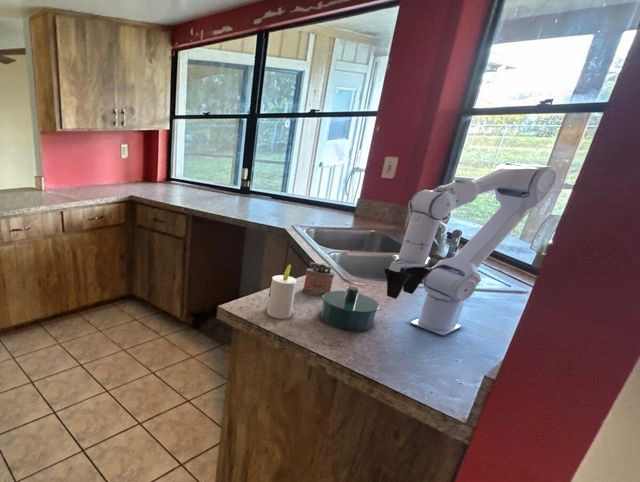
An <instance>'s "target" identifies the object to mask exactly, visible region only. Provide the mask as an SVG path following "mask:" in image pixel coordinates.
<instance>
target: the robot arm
mask: <svg viewBox="0 0 640 482" xmlns="http://www.w3.org/2000/svg"><path fill="white" fill-rule="evenodd" d="M557 178H558V171H557V169H556V168H555V166H553V165H546V166H545V165H536V164H523V163H515V162H509V161H508V162H505V163H503V164H499V165H497V166H496V168H495V169H494V170H492V171H490V172H488V173H485V174H483V175H481V176H479V177H477V178H475V179H469V178H465V177H464V178H463V177H458V178H455V179H454V181H452V182H451V183H447V184H444V185H439V186H437V187H436V188H434V189H433V190H430V189H423V190H420V191H418V192H416V193H415V194H414V195H413V196H412V198H411V200H409V201H408V205H407V207H408V211H409V214H408V216H407V217H408V221H409V222H408V225H407V228H406V231H405V234H404V237H403V241H402V244H401V247H400V249H399V254H394V255H393V256H392V259H394V260H393V261H391V262H390V265H389V266H385V267H384V270H383V272H384V274H385V278H386V297H389V298H392V299H395V300H396V299H398V298H399V296H400V294H401V292H402V291H403V292H404V293H407V294H410V295H413V294H414V293H415V292H416V290H417V288H419V286H420V284H421V282H422V285H423V287H424V288H425V289H424V292H426V294H425V298H424V299H423V300H424V301H423V304H422V307H421V310H420V313H419V317H418V318H417V319H416V318H415V319H414V320H412V321H410V324H411V325H414V326H415V327H416V326H417V327H419V328H421V329H424V330H427V331H430V332H432V333H435V334H437V335H440V336H446V335H448V334H449V333H452V332H454V331H456V330H458V329H460V328H461V325H460V324H458V322H459V319H460V316H461V313H462V310H463V307H464V302H465V300H468V299H469V298H470V297H471V296H472V295H473V294H474V293H475V290H476V288H477V286H478V284H480V282H481V281H482V278H481V274H480V273H479V270H478V268H479V267H480V266H481V265H482V264H483V263H484V262H485V261H486V260H487V258H488V257H489V256H490V255H491V254H492V253H493V252H494V251H495V250H496V249H497V248H498V247H499V245H500V244H502V243H503V241H505V239H506V238H507V237H508V236H509V235H510V234H511V233H512V232H513V231H514V229H516V228H517V226H519V224H520V223H521V222H522V221H523V220H524V219H525V217H526V216H527V215H528V214H529V213H531V211H532V210H533V208H536V207H538V206H539V204H541V202H542V201H543V200H544V199H545V198H546V197H547V196H548V195H549V194H550V193H551V192H552V190H553V189H554V188H556V184H557V180H558V179H557ZM491 191H494V195H495V200H497V202H498V203H500V206H499V207H498V209H496V211H495V212H494V213H493V214H492V215H491V216H490V217H489V218H488V219H487V220H486V222H485V223H484V224H483V225H482V226H481V227H480V228H479V230H477V232H475V234H474V235H473V236H472V237H471V238H470V239H469V240H468V241H467V242H466V243H465V245H464V246H463V247H462V248H461V249H460V250H459V251H458V252H457V254H456V255H455V256H453V257H448V258H444V259H441V260H439V261H438V262H437V263H436V264H435V265H434V266H432V267H430V266H429V264H430V261H431V257H430V256H429V255H430V251H431V249H432V246H433V243H434V240H435V237H436V235H437V232H438V229H439V226H440V223H441V221H442V219H445V218H446V217H447V216H448V215H449V214H450V213H451V212H452V211H453V210H455V209H457V208H459V207H462V206H465V205H467V204H469V203H473V202H474V201H475V200H476V199H477V198H478V195H480V194H485V193H488V192H491Z"/></svg>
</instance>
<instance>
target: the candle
mask: <svg viewBox="0 0 640 482" xmlns="http://www.w3.org/2000/svg"><path fill="white" fill-rule="evenodd" d="M291 267H292V265H291V263H290V264H288V265H287V267H286V268H285V271H284V273H283V274H277V275H274V276H272V277H271V284H270V287H269V292H268V305H267V310H266V313H267V315H269V316H270V317H271V318H275V319H281V320H285V319H289V318H290V317H291V315H292V310H293V304H294V300H295V299H294V298H295V293H296V287H297V282H298V280H297V279H296V278H295V277H293V276H290V272H291Z"/></svg>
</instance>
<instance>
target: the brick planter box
mask: <svg viewBox="0 0 640 482" xmlns="http://www.w3.org/2000/svg"><path fill="white" fill-rule="evenodd" d="M309 267H310V268H306V270H305V272H306V274H305V278H304V279H305V280H304V284H303V288H302V293H304V294H307V295H312V296H316V297H322V298H323V295H324V294H325V293H327V292H330V291H332V285H333V280H334V277H335V274H336V273H335V272H333V271H332V267H333V266H332V265H326V263H324V262H323V263H319V262H313V261H311V262H310V263H309Z"/></svg>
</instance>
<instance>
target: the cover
mask: <svg viewBox="0 0 640 482" xmlns="http://www.w3.org/2000/svg"><path fill="white" fill-rule="evenodd" d="M359 291H360V289H359V288H357V287H356V286H348V287H347V290H346V291H344V290H330V292H327V293H325V294H324V295H323V297H322V300H323V301H324V302H325V303H327V304H328V305H330V306H332V307H334V308H337V309H340V310H343V311H348V312H353V313H373V312H376V313H377V311H379V309H380V304H379V303H378V302H377V301H376V300H375V299H374V298H371V297H370V296H368V295H364V294H361V293H359Z"/></svg>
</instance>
